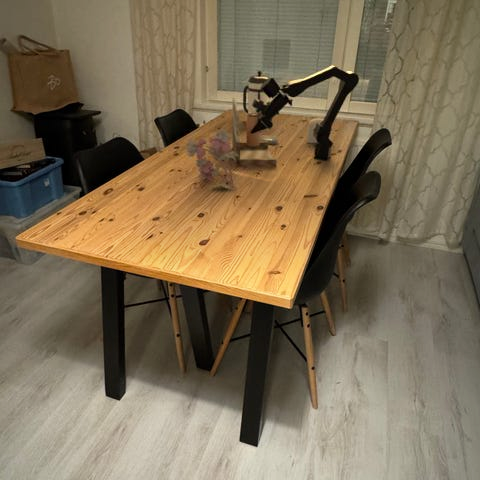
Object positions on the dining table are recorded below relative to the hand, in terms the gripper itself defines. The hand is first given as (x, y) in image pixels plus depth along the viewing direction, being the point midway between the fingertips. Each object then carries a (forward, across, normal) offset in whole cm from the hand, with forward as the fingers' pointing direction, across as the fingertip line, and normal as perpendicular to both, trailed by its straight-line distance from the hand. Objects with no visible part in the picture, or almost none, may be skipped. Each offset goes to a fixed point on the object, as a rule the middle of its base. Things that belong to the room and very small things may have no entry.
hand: (250, 131), depth 180 cm
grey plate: (+1, -26, +17) cm, 31 cm away
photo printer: (-18, -25, +36) cm, 47 cm away
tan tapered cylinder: (+3, 0, +5) cm, 6 cm away
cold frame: (+8, 0, +10) cm, 13 cm away
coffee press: (+2, -65, +16) cm, 67 cm away
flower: (+22, +30, -3) cm, 37 cm away
